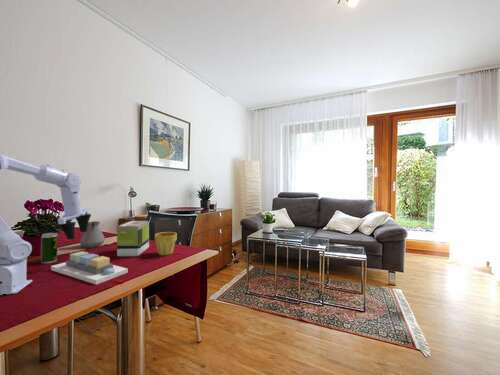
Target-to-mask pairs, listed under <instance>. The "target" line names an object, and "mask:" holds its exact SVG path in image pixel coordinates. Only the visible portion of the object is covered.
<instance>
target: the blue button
mask: <svg viewBox="0 0 500 375" xmlns="http://www.w3.org/2000/svg"><path fill="white" fill-rule="evenodd" d="M97 257H100V255H99V254H94V253H89V254H88V255H85V256H81V257H80V264H83V265H90V259H93V258H97Z"/></svg>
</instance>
